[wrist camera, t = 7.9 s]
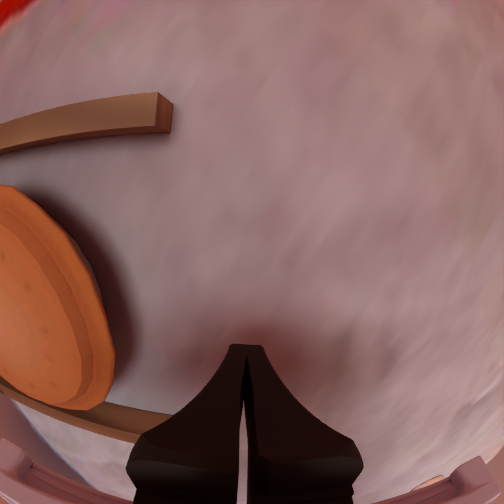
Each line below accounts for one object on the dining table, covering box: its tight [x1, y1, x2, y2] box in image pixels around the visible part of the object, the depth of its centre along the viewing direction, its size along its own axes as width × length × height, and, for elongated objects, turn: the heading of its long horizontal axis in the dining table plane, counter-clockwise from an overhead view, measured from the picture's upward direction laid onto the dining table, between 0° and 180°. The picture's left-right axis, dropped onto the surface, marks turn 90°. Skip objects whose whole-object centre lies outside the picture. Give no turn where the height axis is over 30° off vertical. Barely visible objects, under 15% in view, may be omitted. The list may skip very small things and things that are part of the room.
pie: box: [0, 185, 116, 410], centre depth 13 cm, size 16×16×5 cm
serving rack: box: [0, 92, 173, 444], centre depth 14 cm, size 22×20×2 cm
